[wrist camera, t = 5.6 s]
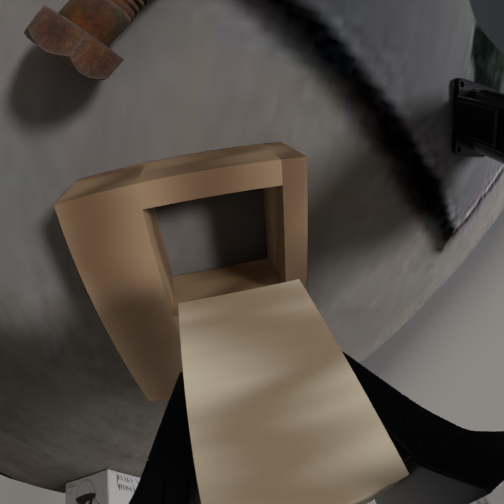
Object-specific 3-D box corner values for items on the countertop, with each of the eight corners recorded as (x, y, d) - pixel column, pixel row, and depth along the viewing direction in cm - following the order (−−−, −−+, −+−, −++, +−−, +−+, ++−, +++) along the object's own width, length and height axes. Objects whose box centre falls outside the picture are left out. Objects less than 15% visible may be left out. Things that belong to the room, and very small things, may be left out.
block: (280, 141, 17) (319, 164, 12) (286, 336, 25) (307, 385, 21) (78, 179, 15) (42, 217, 10) (148, 363, 23) (149, 416, 19)
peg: (299, 278, 10) (409, 474, 4) (297, 354, 12) (363, 505, 6) (178, 303, 9) (208, 536, 3) (202, 375, 11) (236, 541, 6)
